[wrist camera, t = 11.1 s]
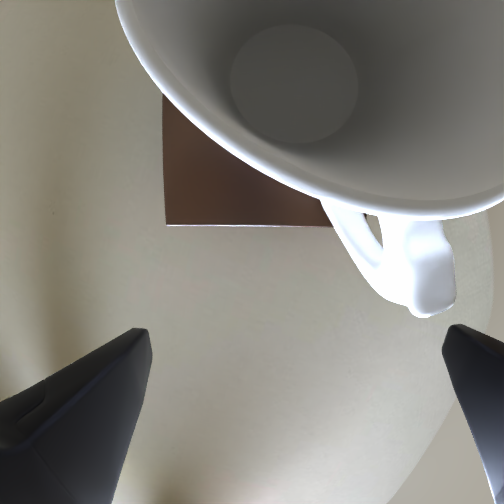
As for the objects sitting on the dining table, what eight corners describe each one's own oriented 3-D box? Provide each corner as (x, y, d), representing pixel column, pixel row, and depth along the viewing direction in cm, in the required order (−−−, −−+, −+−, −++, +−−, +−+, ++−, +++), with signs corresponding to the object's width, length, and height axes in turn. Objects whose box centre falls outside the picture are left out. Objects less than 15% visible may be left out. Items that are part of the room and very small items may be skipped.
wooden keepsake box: (345, 56, 17) (371, 34, 12) (341, 207, 20) (365, 229, 16) (185, 52, 17) (164, 29, 12) (185, 205, 20) (165, 226, 16)
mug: (203, 39, 13) (93, -130, 1) (339, 12, 12) (465, -139, 1) (260, 236, 16) (268, 454, 5) (388, 204, 15) (572, 331, 4)
